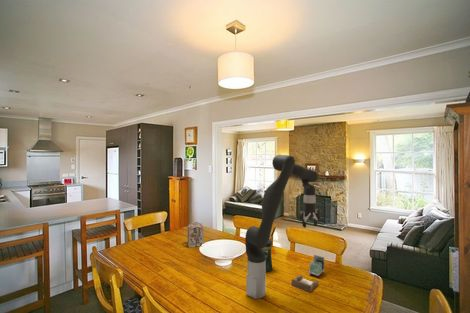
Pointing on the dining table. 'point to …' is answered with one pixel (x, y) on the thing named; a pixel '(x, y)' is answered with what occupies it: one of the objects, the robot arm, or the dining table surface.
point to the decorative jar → (195, 234)
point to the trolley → (317, 266)
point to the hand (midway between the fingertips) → (310, 226)
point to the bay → (304, 283)
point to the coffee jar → (268, 255)
